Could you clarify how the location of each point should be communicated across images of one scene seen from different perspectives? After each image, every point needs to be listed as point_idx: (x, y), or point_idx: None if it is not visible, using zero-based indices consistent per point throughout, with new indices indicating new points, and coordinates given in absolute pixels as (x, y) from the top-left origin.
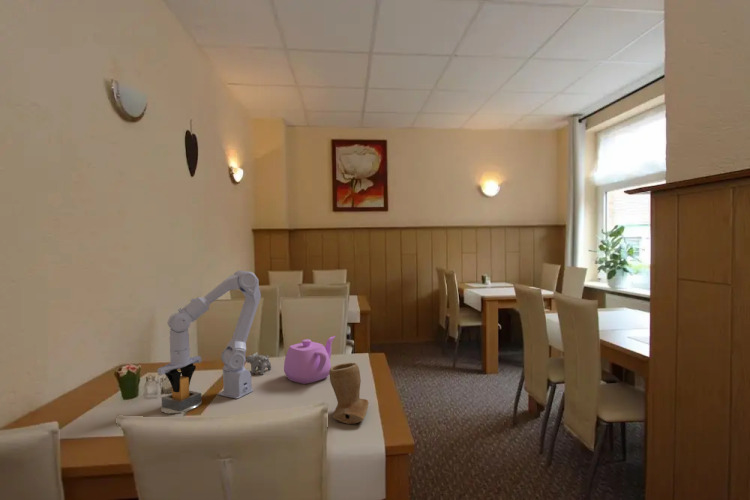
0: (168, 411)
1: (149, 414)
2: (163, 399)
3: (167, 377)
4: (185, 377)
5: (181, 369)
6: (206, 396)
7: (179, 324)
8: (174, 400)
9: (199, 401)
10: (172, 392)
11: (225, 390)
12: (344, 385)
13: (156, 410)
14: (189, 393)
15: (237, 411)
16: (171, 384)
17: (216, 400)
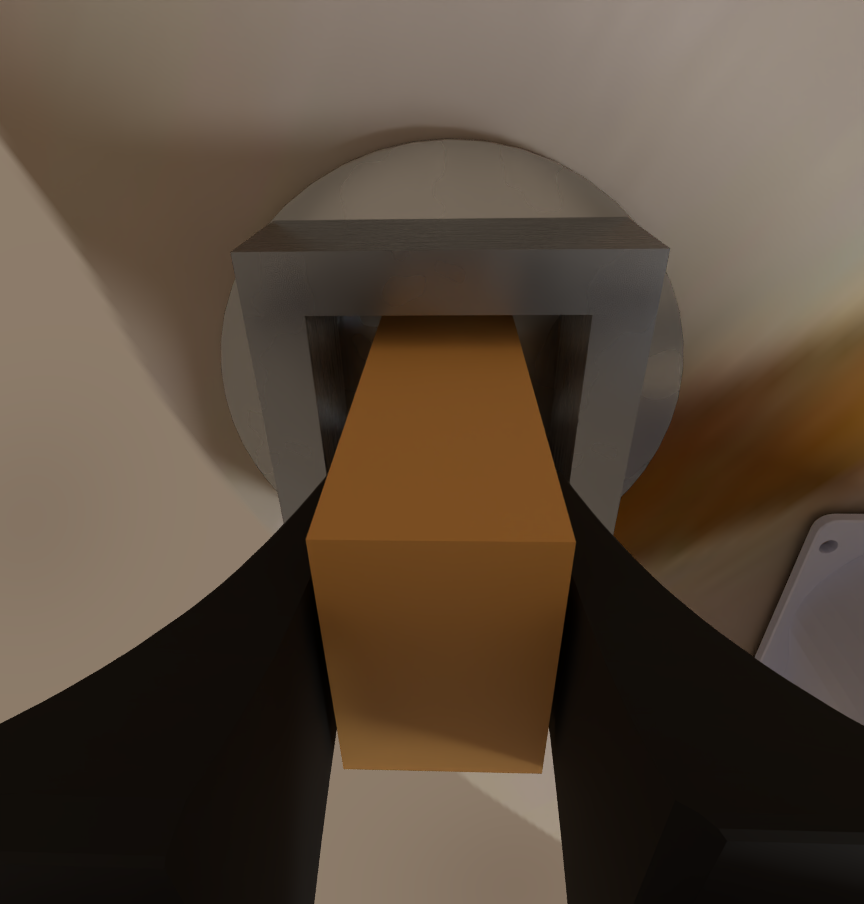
0: (256, 422)
1: (101, 230)
2: (245, 296)
3: (112, 666)
4: (506, 741)
5: (629, 785)
6: (768, 420)
7: None
8: (293, 513)
9: None
10: (364, 382)
11: (824, 642)
12: None
13: (209, 196)
14: (567, 463)
15: (538, 795)
16: (269, 550)
17: (678, 584)
